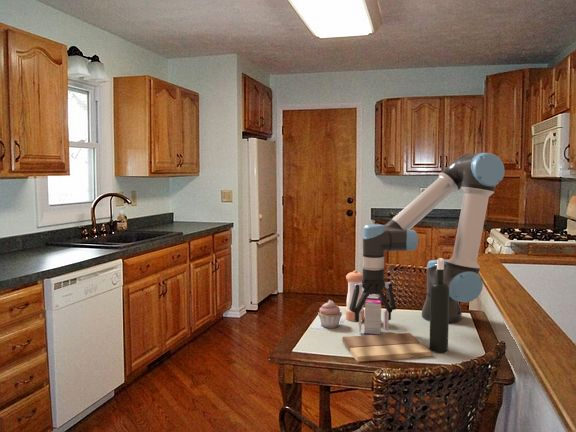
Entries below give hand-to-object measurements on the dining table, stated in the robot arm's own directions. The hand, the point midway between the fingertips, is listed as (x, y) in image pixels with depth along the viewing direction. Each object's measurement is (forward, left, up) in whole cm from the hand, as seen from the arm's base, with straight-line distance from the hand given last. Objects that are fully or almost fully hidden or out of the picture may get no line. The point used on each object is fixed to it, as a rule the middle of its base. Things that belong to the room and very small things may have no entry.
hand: (372, 329), depth 185 cm
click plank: (+2, +13, -1) cm, 14 cm away
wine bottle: (-15, +21, -1) cm, 26 cm away
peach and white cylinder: (+1, -18, -1) cm, 18 cm away
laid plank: (+2, +22, -1) cm, 22 cm away
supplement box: (0, 0, -1) cm, 1 cm away
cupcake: (+13, -11, -1) cm, 17 cm away
